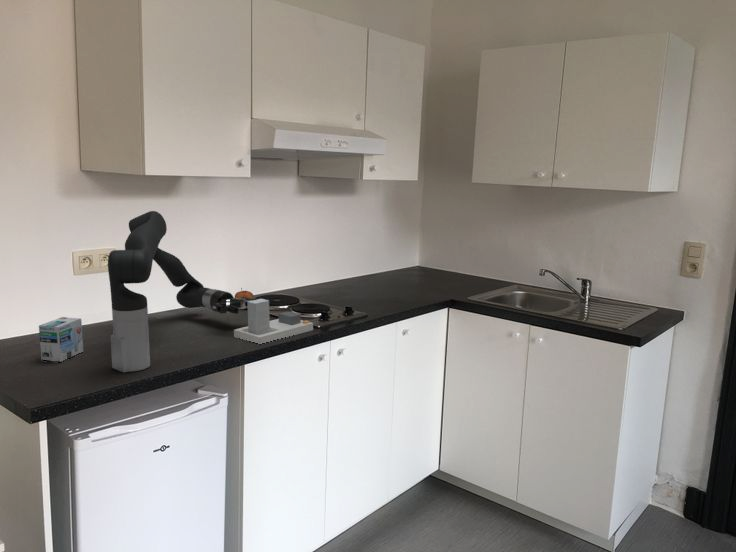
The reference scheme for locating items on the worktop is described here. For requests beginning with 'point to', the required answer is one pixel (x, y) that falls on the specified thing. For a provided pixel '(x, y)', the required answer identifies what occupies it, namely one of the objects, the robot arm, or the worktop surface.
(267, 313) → the skincare box
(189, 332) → the worktop surface
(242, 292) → the apple
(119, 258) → the robot arm
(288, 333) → the grey rectangular base
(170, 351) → the worktop surface
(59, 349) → the light bulb box
